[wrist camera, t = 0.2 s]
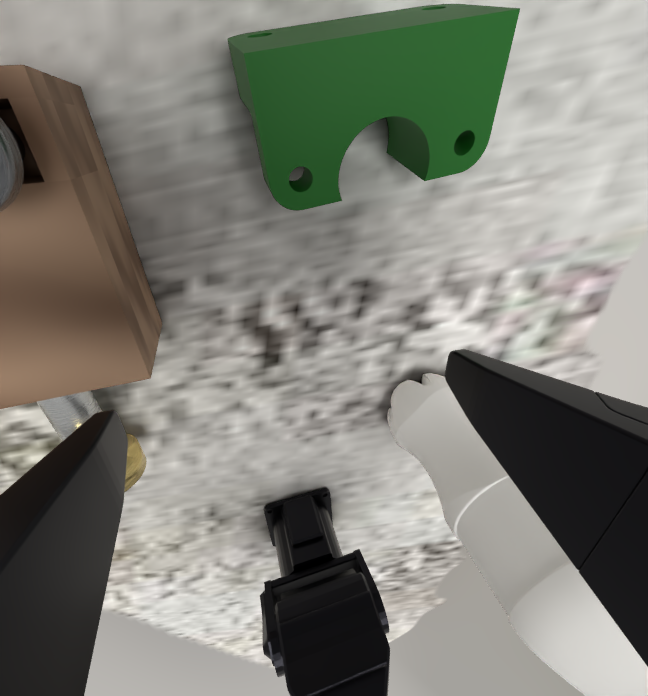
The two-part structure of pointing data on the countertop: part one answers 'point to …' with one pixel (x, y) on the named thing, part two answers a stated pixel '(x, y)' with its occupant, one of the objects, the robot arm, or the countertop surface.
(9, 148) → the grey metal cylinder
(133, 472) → the pin
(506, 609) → the water bottle
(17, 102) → the block
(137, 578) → the countertop surface
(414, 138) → the clamp
